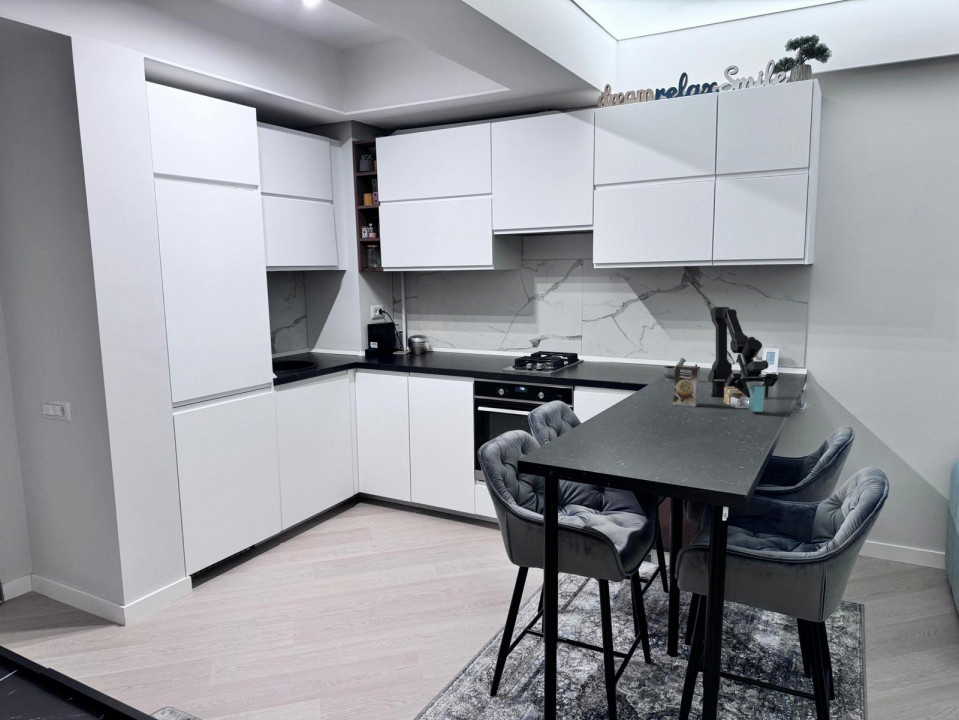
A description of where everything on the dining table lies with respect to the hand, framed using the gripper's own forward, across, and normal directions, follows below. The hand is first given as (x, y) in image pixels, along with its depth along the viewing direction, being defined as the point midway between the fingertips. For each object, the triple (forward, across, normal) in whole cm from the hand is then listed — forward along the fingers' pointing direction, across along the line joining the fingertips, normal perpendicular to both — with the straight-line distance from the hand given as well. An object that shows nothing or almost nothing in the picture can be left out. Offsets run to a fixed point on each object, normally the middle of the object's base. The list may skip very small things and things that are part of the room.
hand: (758, 397), depth 258 cm
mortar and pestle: (-50, -7, +59) cm, 77 cm away
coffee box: (-8, -22, +18) cm, 29 cm away
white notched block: (-5, 0, +15) cm, 16 cm away
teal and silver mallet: (-1, 0, +8) cm, 8 cm away
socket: (-10, 0, +19) cm, 22 cm away
